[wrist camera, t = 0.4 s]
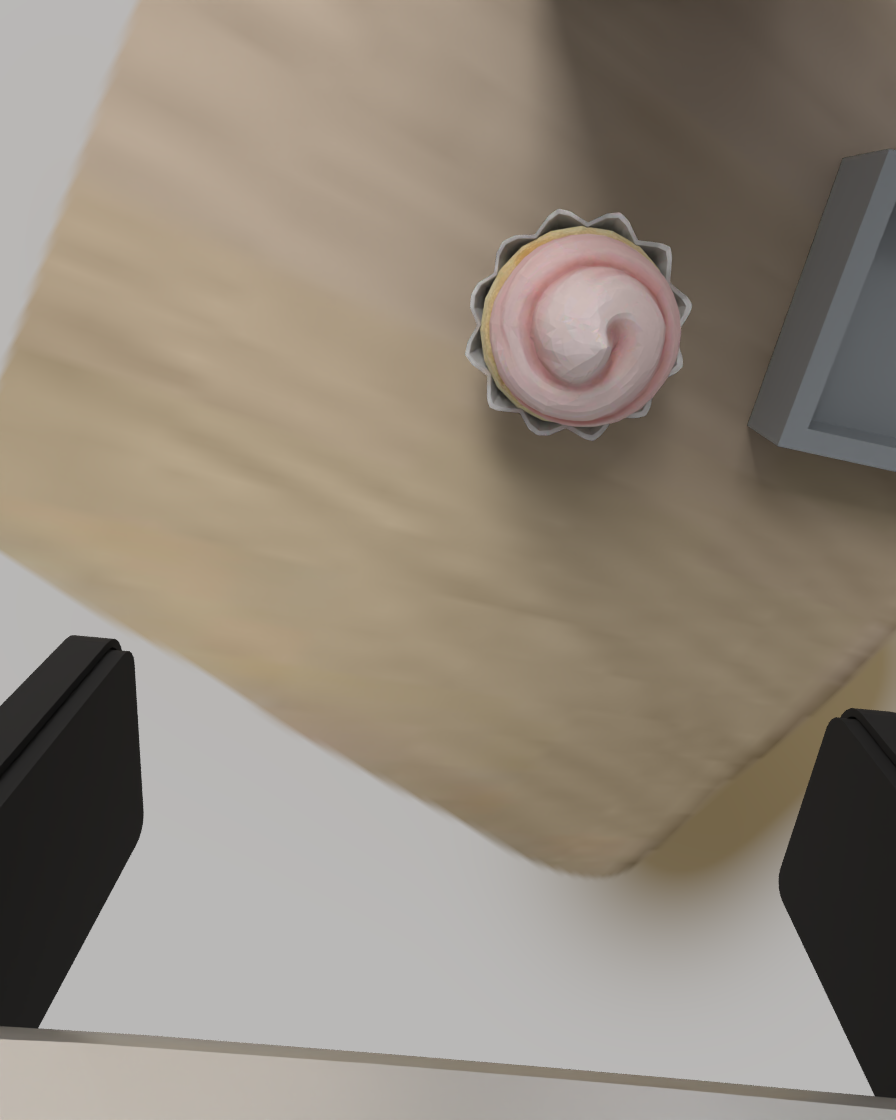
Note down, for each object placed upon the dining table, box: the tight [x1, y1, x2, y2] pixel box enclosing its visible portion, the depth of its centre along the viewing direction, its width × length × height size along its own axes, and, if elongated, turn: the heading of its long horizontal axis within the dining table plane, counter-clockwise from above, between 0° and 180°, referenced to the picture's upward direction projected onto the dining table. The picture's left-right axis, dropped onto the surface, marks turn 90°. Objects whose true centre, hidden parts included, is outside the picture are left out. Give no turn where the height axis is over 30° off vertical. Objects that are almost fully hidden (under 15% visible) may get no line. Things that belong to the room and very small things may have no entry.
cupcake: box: [465, 209, 692, 441], centre depth 33 cm, size 9×9×10 cm
